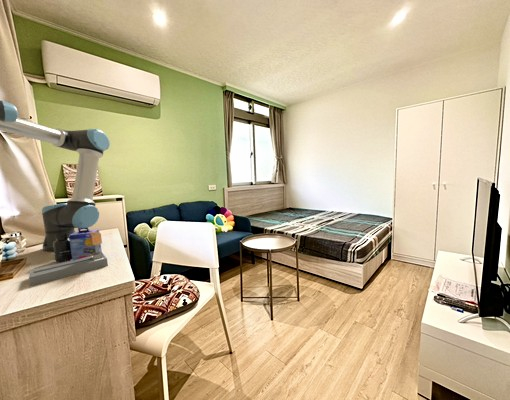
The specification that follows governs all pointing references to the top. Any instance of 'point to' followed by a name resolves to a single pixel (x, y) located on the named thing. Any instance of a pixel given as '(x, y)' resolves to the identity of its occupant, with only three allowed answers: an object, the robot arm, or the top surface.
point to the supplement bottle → (62, 247)
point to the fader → (96, 244)
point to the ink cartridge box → (82, 244)
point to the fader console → (65, 269)
